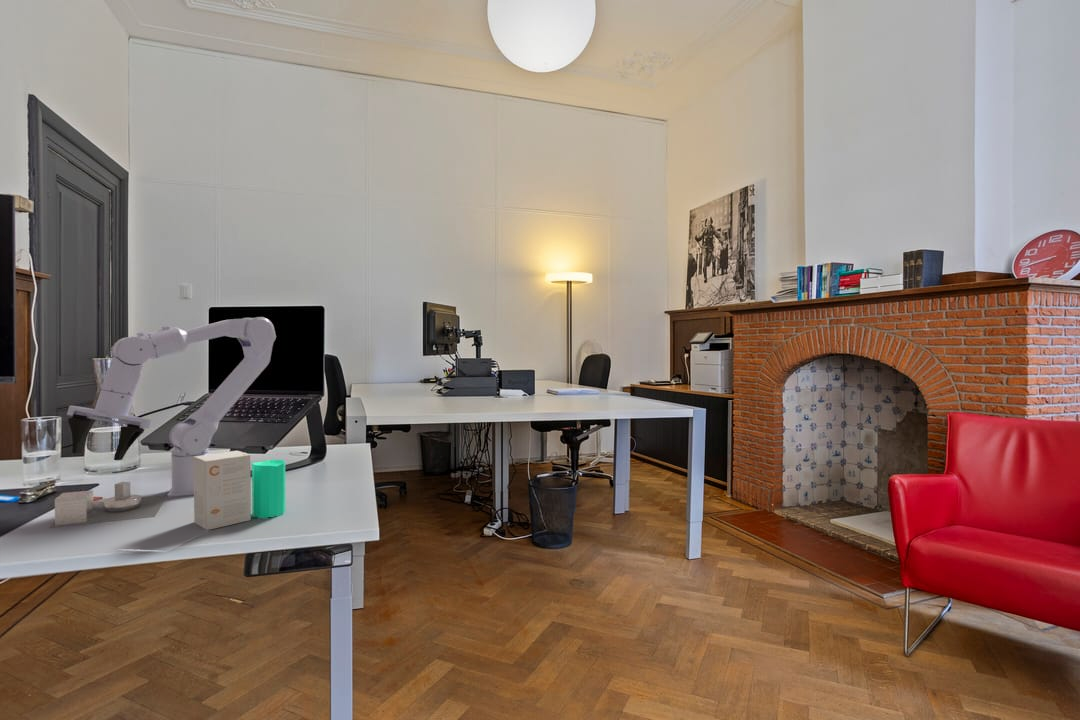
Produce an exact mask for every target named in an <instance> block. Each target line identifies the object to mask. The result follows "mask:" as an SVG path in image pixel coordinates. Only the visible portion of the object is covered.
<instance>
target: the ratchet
mask: <svg viewBox="0 0 1080 720" xmlns="http://www.w3.org/2000/svg"><path fill="white" fill-rule="evenodd" d="M141 498H142V497H141V495H139V494H131V481H121V482H117V483H115V484H114V496H111V497H108V498H103V496H93V509H104V512H107V513H119V512H126V511H131V510H135V509H138V508H140V507H141Z"/></svg>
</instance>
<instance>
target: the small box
mask: <svg viewBox="0 0 1080 720" xmlns="http://www.w3.org/2000/svg"><path fill="white" fill-rule="evenodd" d="M193 466H194V494H193V515H194V516H193V518H194V521H193V523H195V524H196V525H198V526H200V528H203V529H204V530H207V531H211V530H213V529H217V528H219V529H220V528H223V527H228V526H231V525H235V524H240V523H244V522H248V521H252V520H251V519H252V518H251V517H252V516H251V515H252V480H251V454H249V453H246V452H244V451H240V450H231V451H230V450H229V451H224V452H219V453H216V454H209V455H202V456H194V457H193Z"/></svg>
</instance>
